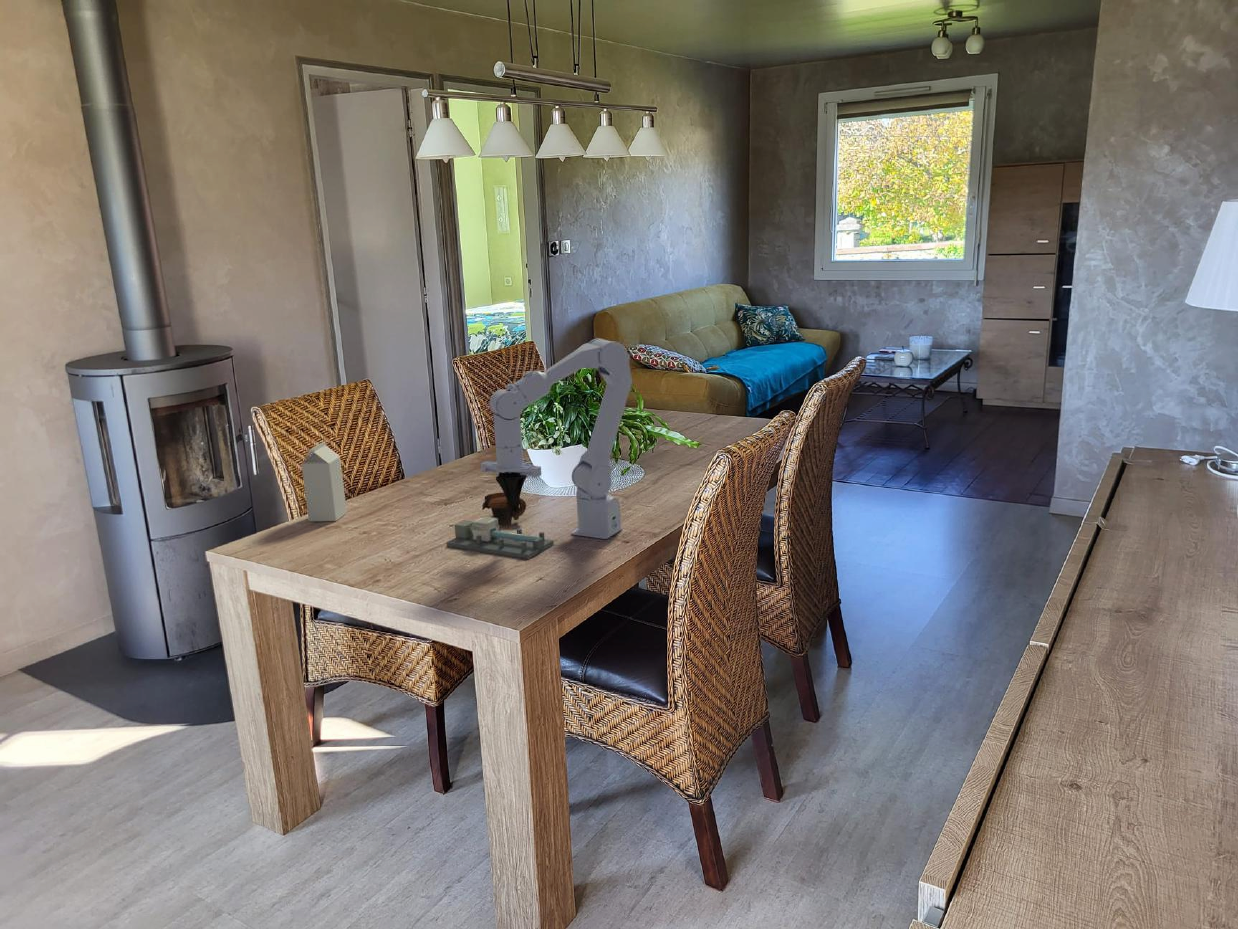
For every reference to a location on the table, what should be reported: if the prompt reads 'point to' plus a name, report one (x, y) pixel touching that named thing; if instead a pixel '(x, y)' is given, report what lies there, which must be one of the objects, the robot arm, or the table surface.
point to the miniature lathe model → (499, 542)
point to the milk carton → (323, 484)
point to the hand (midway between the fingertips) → (513, 505)
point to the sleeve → (484, 527)
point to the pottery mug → (503, 508)
